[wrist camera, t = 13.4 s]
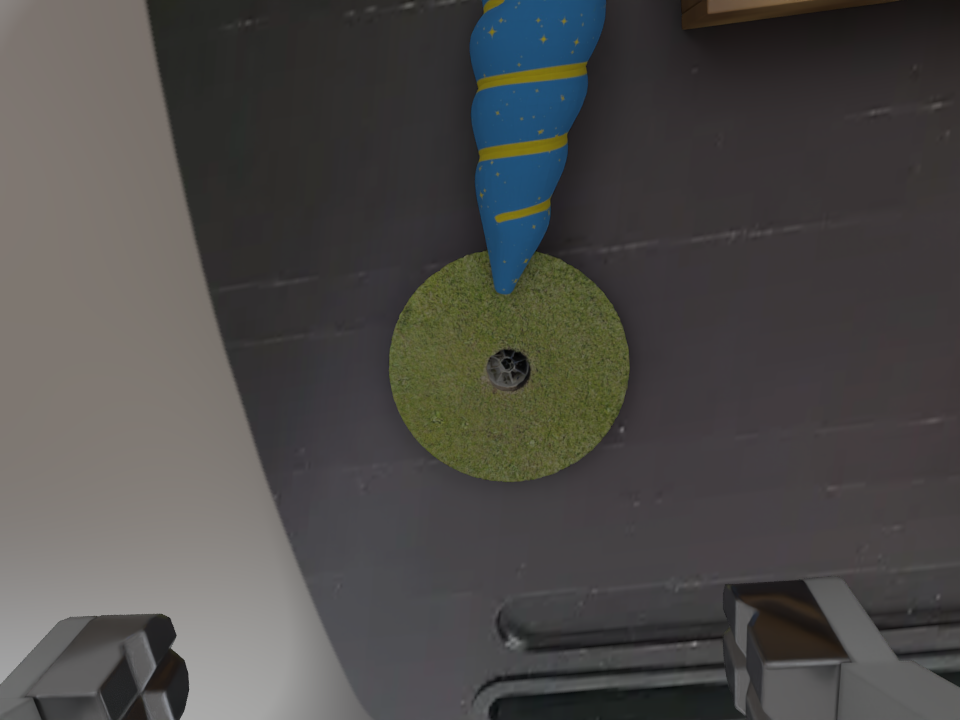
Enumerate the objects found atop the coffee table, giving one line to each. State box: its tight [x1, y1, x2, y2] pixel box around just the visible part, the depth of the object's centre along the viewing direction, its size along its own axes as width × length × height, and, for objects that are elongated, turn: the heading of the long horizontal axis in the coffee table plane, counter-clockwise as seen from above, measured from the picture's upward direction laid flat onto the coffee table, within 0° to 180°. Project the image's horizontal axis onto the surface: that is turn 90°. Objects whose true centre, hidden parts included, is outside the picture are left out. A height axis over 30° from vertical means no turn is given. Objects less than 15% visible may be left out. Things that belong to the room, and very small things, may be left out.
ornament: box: [470, 0, 606, 294], centre depth 28 cm, size 5×5×15 cm
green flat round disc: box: [389, 250, 630, 482], centre depth 34 cm, size 11×11×2 cm
